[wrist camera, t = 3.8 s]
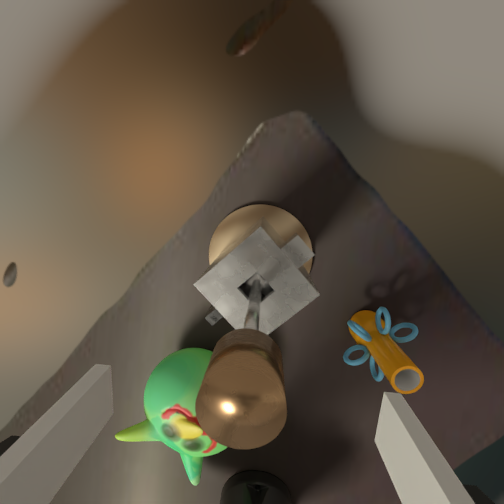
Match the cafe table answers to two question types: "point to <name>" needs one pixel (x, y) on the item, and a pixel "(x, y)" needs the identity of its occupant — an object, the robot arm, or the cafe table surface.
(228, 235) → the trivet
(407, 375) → the cylinder
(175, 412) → the toy bird
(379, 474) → the cafe table surface
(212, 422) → the plunger
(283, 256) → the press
